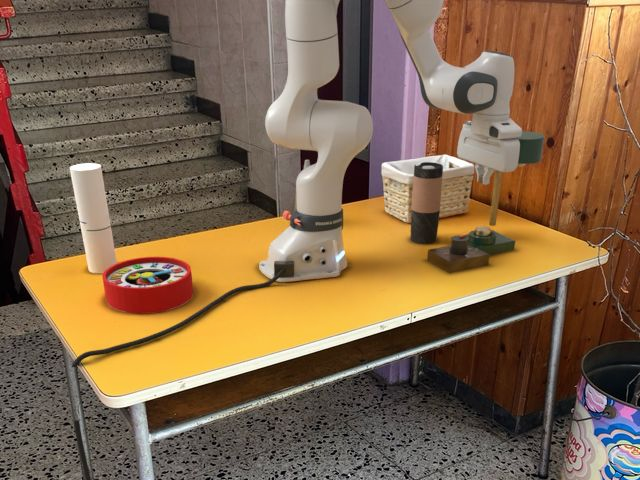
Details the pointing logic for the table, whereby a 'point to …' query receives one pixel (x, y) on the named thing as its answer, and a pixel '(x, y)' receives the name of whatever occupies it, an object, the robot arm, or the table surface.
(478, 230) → the power button
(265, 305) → the table surface
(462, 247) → the dimmer knob
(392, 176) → the basket
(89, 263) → the cylindrical container
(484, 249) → the lamp base
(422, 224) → the travel mug
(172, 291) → the toy clock
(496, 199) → the desk lamp
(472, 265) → the dimmer
